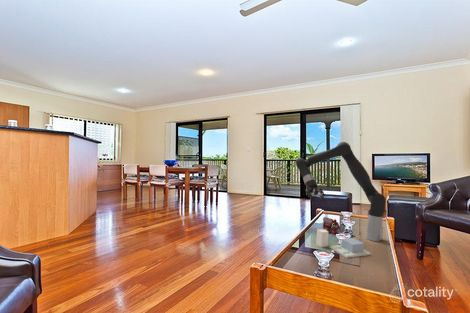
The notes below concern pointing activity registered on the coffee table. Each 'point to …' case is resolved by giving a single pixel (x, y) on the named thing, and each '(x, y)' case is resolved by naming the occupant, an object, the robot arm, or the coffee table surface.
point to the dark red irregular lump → (328, 224)
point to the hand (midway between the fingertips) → (319, 201)
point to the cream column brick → (322, 238)
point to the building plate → (346, 253)
